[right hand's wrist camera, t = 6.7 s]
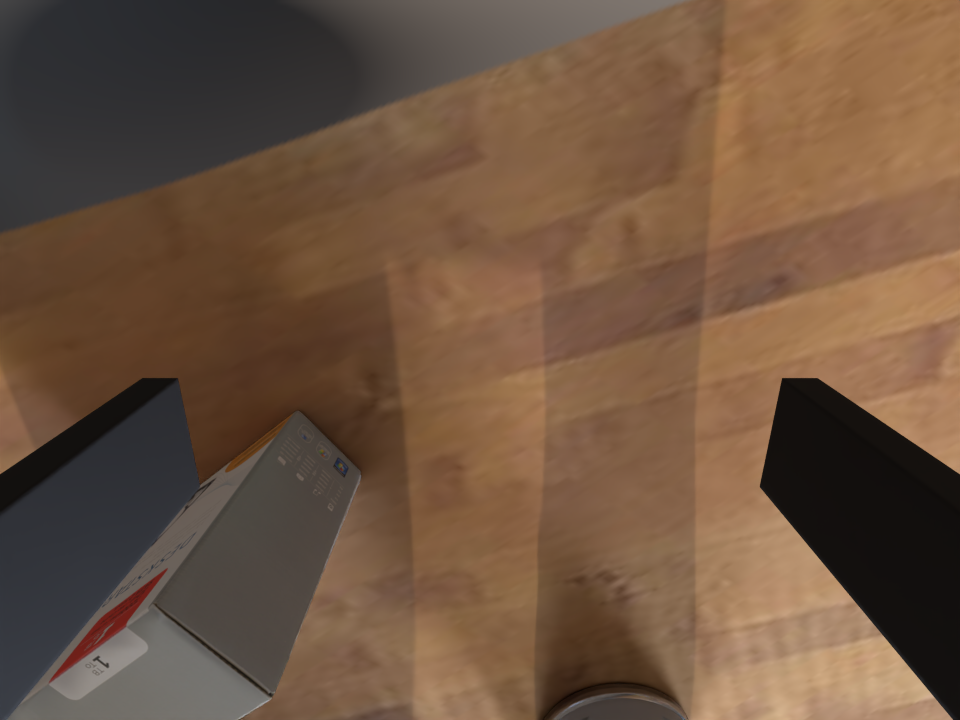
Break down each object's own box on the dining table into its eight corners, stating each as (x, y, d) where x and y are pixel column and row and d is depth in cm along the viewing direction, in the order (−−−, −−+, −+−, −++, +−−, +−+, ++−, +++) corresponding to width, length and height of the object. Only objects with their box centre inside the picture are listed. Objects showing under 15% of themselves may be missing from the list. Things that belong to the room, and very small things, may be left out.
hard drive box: (298, 404, 43) (157, 601, 24) (365, 472, 45) (284, 701, 26) (164, 510, 46) (-51, 754, 27) (232, 568, 48) (77, 832, 30)
